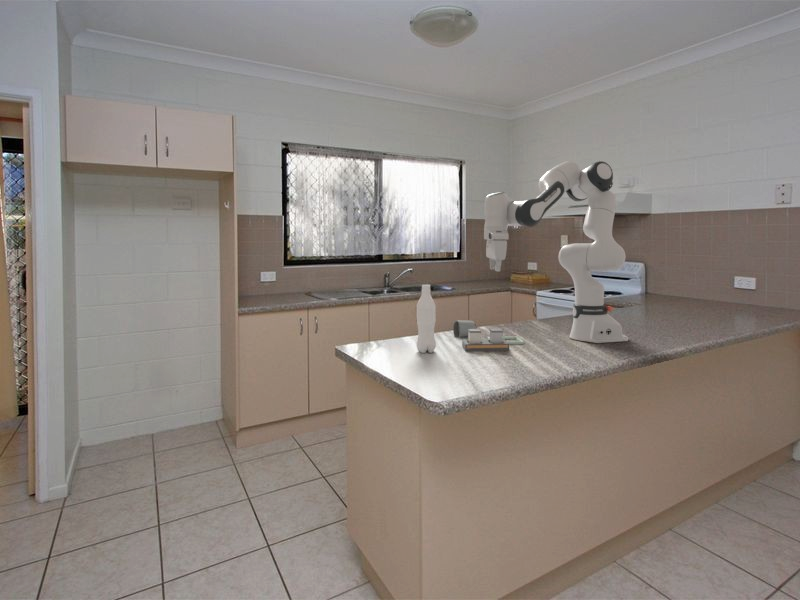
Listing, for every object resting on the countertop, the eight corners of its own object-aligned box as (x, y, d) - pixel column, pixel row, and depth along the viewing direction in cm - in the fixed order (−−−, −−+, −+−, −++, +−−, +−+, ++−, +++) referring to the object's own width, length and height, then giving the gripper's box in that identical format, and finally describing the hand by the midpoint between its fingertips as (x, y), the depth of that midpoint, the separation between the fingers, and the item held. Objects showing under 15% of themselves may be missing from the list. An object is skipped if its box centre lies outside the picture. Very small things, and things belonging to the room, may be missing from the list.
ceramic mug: (477, 338, 205) (477, 320, 204) (459, 340, 202) (459, 321, 201) (466, 334, 215) (466, 317, 214) (449, 335, 212) (449, 318, 211)
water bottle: (439, 350, 184) (439, 284, 181) (430, 354, 178) (430, 286, 175) (422, 348, 188) (421, 283, 185) (413, 352, 182) (412, 285, 179)
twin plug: (500, 346, 186) (500, 328, 185) (502, 349, 182) (502, 330, 181) (489, 346, 186) (489, 328, 185) (491, 349, 181) (491, 330, 181)
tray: (517, 340, 200) (517, 336, 199) (523, 346, 190) (523, 341, 190) (487, 341, 200) (487, 336, 199) (492, 347, 190) (492, 342, 189)
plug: (478, 347, 185) (479, 328, 184) (480, 349, 181) (481, 330, 180) (468, 347, 185) (468, 328, 184) (469, 349, 181) (469, 331, 180)
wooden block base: (504, 348, 188) (504, 339, 187) (509, 353, 180) (509, 343, 179) (462, 348, 187) (462, 339, 187) (465, 353, 179) (465, 344, 179)
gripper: (482, 234, 201) (482, 268, 203) (492, 235, 181) (492, 272, 183) (497, 234, 201) (497, 268, 203) (509, 234, 181) (509, 272, 183)
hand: (495, 270), depth 193 cm, fingers open, 8 cm apart
